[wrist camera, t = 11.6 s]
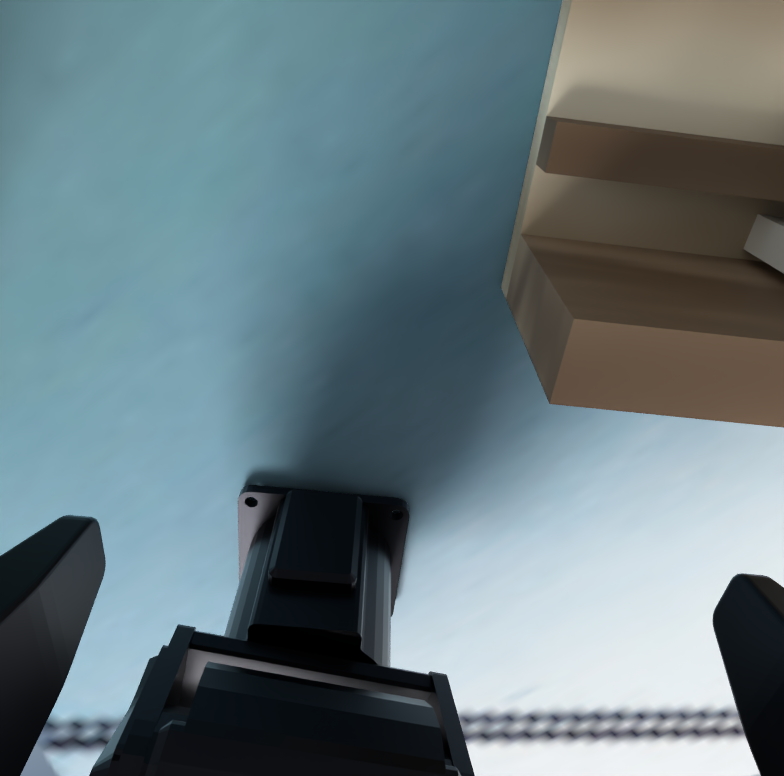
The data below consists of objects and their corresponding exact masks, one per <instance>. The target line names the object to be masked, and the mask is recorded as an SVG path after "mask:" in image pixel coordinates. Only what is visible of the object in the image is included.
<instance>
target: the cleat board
mask: <svg viewBox="0 0 784 776" xmlns="http://www.w3.org/2000/svg"><path fill="white" fill-rule="evenodd" d="M758 214H762V215H770V216H778V217H784V0H563V1H562V5H561V10H560V15H559V19H558V24H557V29H556V33H555V38H554V43H553V47H552V52H551V57H550V61H549V66H548V71H547V75H546V80H545V85H544V89H543V94H542V99H541V103H540V108H539V113H538V117H537V122H536V127H535V131H534V136H533V141H532V145H531V150H530V155H529V159H528V164H527V169H526V173H525V178H524V183H523V187H522V192H521V197H520V201H519V206H518V211H517V215H516V220H515V225H514V229H513V234H512V239H511V243H510V248H509V253H508V257H507V262H506V267H505V271H504V276H503V281H502V285H501V289H502V291H503V293H504V296H505V298H506V301H507V303H508V305H509V308H510V310H511V313H512V315H513V317H514V320H515V322H516V324H517V327H518V329H519V332H520V334H521V336H522V339H523V341H524V344H525V346H526V348H527V351H528V353H529V356H530V358H531V360H532V363H533V365H534V368H535V370H536V372H537V375H538V377H539V380H540V382H541V384H542V387H543V389H544V392H545V394H546V396H547V399H548V401H549V404H556V405H566V406H576V407H586V408H596V409H606V410H616V411H626V412H636V413H646V414H656V415H666V416H676V417H685V418H695V419H705V420H715V421H725V422H735V423H745V424H755V425H765V426H775V427H784V274H783V273H782V272H780V271H779V270H777V269H775V268H774V267H772V266H770V265H769V264H767V263H766V262H764V261H762V260H761V259H759V258H757V257H756V256H754V255H752V254H751V253H749V252H748V251H746V250H744V249H743V248H744V246H745V244H746V241H747V239H748V236H749V234H750V232H751V229H752V227H753V224H754V222H755V220H756V217H757V215H758Z"/></svg>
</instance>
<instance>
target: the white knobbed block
mask: <svg viewBox="0 0 784 776" xmlns="http://www.w3.org/2000/svg"><path fill="white" fill-rule="evenodd" d="M743 249H744V250H746V251H748V252H749V253H751V254H752V255H754V256H756V257H757V258H759V259H761V260H762V261H764V262H766V263H767V264H769V265H770V266H772V267H774V268H775V269H777V270H779V271H780V272H782V273H783V274H784V217H778V216H770V215H762V214H758V215H757V217H756V220H755V222H754V224H753V227H752V229H751V232H750V234H749V236H748V239H747V241H746V244H745V246H744V248H743Z"/></svg>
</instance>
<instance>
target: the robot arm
mask: <svg viewBox="0 0 784 776" xmlns="http://www.w3.org/2000/svg"><path fill="white" fill-rule="evenodd" d="M248 497H253V498H255V499H257V500H250V499H249V498H248ZM393 510H399V511H401V512H400V513H393V512H392V511H393ZM408 521H409V505H408V504H407V502H406V501H404V500H403V499H399V498H390V497H379V496H368V495H357V494H346V493H335V492H324V491H313V490H302V489H291V488H280V487H269V486H258V485H248V486H246V487H244V488H243V489H242V490H241V492H240V495H239V498H238V534H239V586H238V589H237V593H236V596H235V600H234V603H233V607H232V610H231V614H230V617H229V621H228V624H227V628H226V631H225V635H224V636H221V635H215V634H210V633H205V632H199V631H195V629H196V628H195V627H190V626H184V625H179V624H178V626H177V628H176V630H175V632H174V635H173V637H172V639H171V641H170V643H169V646H165V645H163V647H162V648H161V651H160V653H159V655H158V656H156V657H153V658H150V659H149V662H148V664H147V667H146V669H145V672H144V674H143V677H142V679H141V682H140V684H139V687H138V689H137V692H136V694H135V697H134V699H133V701H132V703H131V705H130V708H129V710H128V711H127V713H126V715H125V717H124V718H123V720H122V722H121V723H120V725H119V726H118V728H117V730H116V731H115V733H114V734H113V736H112V737H111V739H110V741H109V742H108V744H107V745H106V747H105V749H104V750H103V752H102V753H101V755H100V757H99V758H98V760H97V761H96V763H95V765H94V766H93V768H92V770H91V773H90V775H89V776H474V772H473V768H472V765H471V761H470V757H469V754H468V750H467V746H466V743H465V739H464V736H463V732H462V728H461V725H460V721H459V717H458V714H457V710H456V707H455V703H454V699H453V696H452V692H451V688H450V685H449V681H448V678H447V675H446V674H441V673H436V672H429V674H425V673H419V672H414V671H408V670H403V669H398V668H392V667H390V630H391V616H392V615H393V611H394V605H395V599H396V593H397V587H398V581H399V575H400V569H401V563H402V557H403V551H404V545H405V539H406V533H407V527H408ZM104 572H105V554H104V549H103V543H102V537H101V532H100V526H99V523H98V521H97V520H96V519H95V518H92V517H86V516H74V515H66V516H63V517H61V518H59V519H57V520H55V521H54V522H52V523H51V524H49V525H48V526H46V527H45V528H43V529H41V530H40V531H38V532H37V533H35V534H34V535H32V536H31V537H29V538H27V539H26V540H24V541H23V542H21V543H20V544H18V545H17V546H15V547H13V548H12V549H10V550H9V551H7V552H6V553H4V554H3V555H1V556H0V776H20V775H21V773H22V771H23V768H24V766H25V764H26V762H27V760H28V758H29V756H30V754H31V752H32V750H33V748H34V746H35V744H36V742H37V740H38V738H39V736H40V734H41V732H42V730H43V727H44V725H45V723H46V721H47V719H48V717H49V715H50V713H51V711H52V709H53V707H54V705H55V703H56V701H57V698H58V696H59V694H60V692H61V690H62V688H63V685H64V683H65V680H66V678H67V675H68V673H69V670H70V667H71V665H72V662H73V659H74V657H75V654H76V651H77V648H78V645H79V643H80V640H81V637H82V634H83V632H84V629H85V626H86V623H87V621H88V618H89V615H90V612H91V610H92V607H93V604H94V601H95V599H96V596H97V593H98V590H99V588H100V585H101V582H102V579H103V576H104ZM713 627H714V631H715V635H716V638H717V642H718V645H719V649H720V652H721V656H722V659H723V662H724V666H725V669H726V673H727V676H728V680H729V683H730V686H731V690H732V693H733V697H734V700H735V704H736V707H737V711H738V714H739V717H740V720H741V723H742V727H743V730H744V733H745V736H746V738H747V741H748V744H749V746H750V749H751V752H752V754H753V757H754V760H755V762H756V765H757V767H758V770H759V772H760V775H761V776H784V588H783V587H782V586H781V585H779V584H778V583H777V582H775V581H774V580H772V579H771V578H769V577H767V576H763V575H754V574H737V575H736V576H734V577H733V578H732V579H731V581H730V583H729V585H728V586H727V588H726V590H725V592H724V594H723V595H722V597H721V599H720V601H719V602H718V604H717V606H716V608H715V610H714V614H713Z"/></svg>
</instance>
